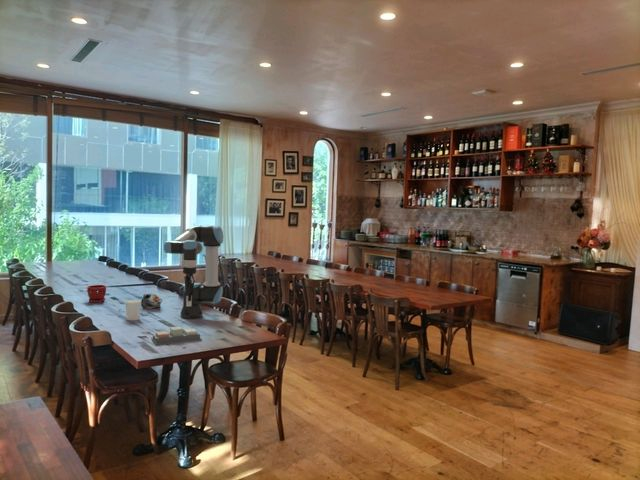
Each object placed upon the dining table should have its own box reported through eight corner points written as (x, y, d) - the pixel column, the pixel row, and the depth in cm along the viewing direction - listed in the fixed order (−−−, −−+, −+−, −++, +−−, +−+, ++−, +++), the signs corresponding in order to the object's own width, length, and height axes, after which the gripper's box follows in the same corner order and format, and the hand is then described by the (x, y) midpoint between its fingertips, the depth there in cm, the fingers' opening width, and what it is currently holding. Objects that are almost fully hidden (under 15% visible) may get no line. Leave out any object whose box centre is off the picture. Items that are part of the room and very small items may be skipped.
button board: (151, 339, 283) (151, 333, 283) (195, 335, 297) (195, 329, 296) (155, 344, 273) (155, 339, 273) (201, 340, 286) (201, 334, 286)
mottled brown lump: (163, 305, 372) (166, 291, 366) (157, 315, 361) (160, 300, 355) (143, 299, 371) (146, 285, 364) (137, 308, 360) (140, 294, 354)
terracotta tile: (156, 338, 282) (156, 332, 281) (166, 337, 285) (166, 331, 285) (158, 341, 277) (158, 334, 276) (169, 340, 280) (169, 333, 279)
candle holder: (122, 318, 328) (123, 300, 327) (136, 316, 335) (137, 299, 334) (129, 321, 321) (129, 303, 321) (143, 319, 329) (144, 301, 328)
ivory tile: (183, 336, 290) (184, 329, 290) (193, 335, 293) (194, 328, 293) (186, 338, 285) (186, 332, 284) (196, 337, 288) (196, 331, 288)
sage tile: (170, 334, 286) (170, 327, 285) (180, 333, 289) (180, 326, 288) (172, 336, 281) (172, 329, 280) (183, 335, 284) (183, 328, 283)
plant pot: (99, 299, 386) (100, 284, 385) (109, 301, 378) (109, 286, 377) (83, 301, 375) (83, 285, 374) (92, 303, 368) (93, 288, 367)
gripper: (180, 265, 291) (179, 304, 293) (186, 268, 280) (185, 309, 282) (192, 264, 295) (191, 303, 297) (199, 268, 284) (198, 308, 286)
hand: (188, 306), depth 289 cm, fingers closed
